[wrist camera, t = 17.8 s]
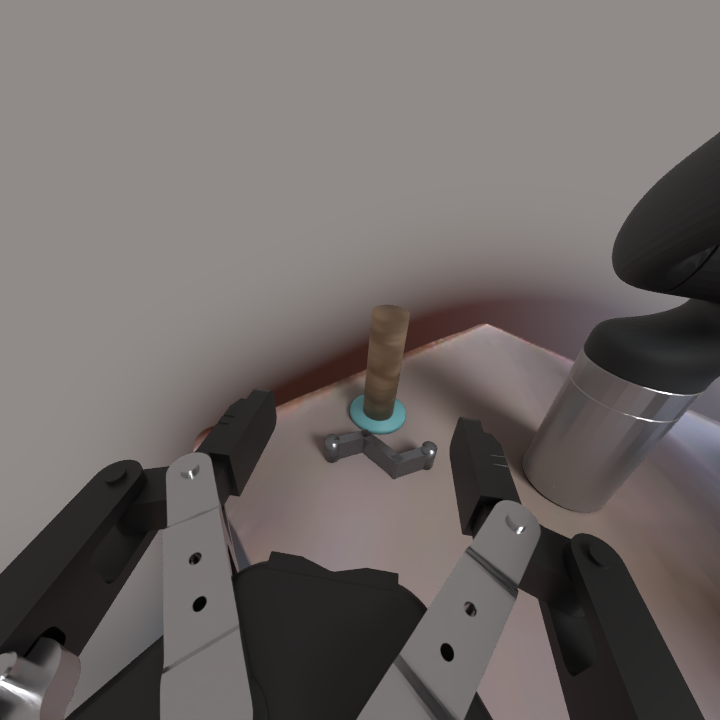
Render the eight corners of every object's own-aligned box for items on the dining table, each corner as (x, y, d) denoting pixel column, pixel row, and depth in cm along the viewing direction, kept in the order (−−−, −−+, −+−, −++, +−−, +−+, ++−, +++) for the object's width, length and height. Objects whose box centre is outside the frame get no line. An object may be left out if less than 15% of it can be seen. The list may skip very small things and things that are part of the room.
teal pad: (394, 393, 49) (395, 390, 49) (413, 430, 43) (413, 426, 42) (345, 398, 48) (345, 394, 47) (356, 437, 41) (356, 433, 40)
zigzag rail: (428, 448, 40) (433, 431, 38) (435, 482, 36) (441, 465, 34) (327, 440, 40) (327, 423, 38) (321, 473, 36) (321, 456, 34)
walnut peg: (388, 399, 47) (402, 304, 38) (397, 419, 43) (415, 319, 35) (360, 401, 46) (368, 305, 37) (367, 422, 42) (378, 321, 34)
